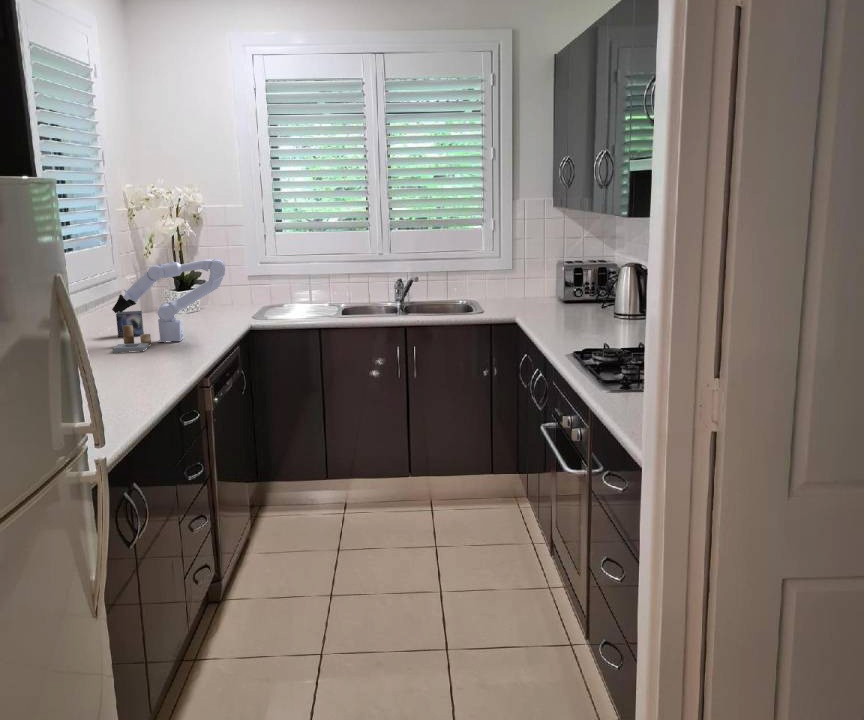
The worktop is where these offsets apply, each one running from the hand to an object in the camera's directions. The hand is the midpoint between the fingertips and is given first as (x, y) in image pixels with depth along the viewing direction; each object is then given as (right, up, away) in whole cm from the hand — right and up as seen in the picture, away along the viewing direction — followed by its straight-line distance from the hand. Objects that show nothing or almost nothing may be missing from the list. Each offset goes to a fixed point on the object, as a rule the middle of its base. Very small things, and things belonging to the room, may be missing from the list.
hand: (116, 311), depth 339 cm
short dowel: (+13, -14, 0) cm, 19 cm away
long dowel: (+5, -14, +1) cm, 15 cm away
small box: (-2, -10, +22) cm, 24 cm away
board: (+10, -16, -10) cm, 22 cm away
